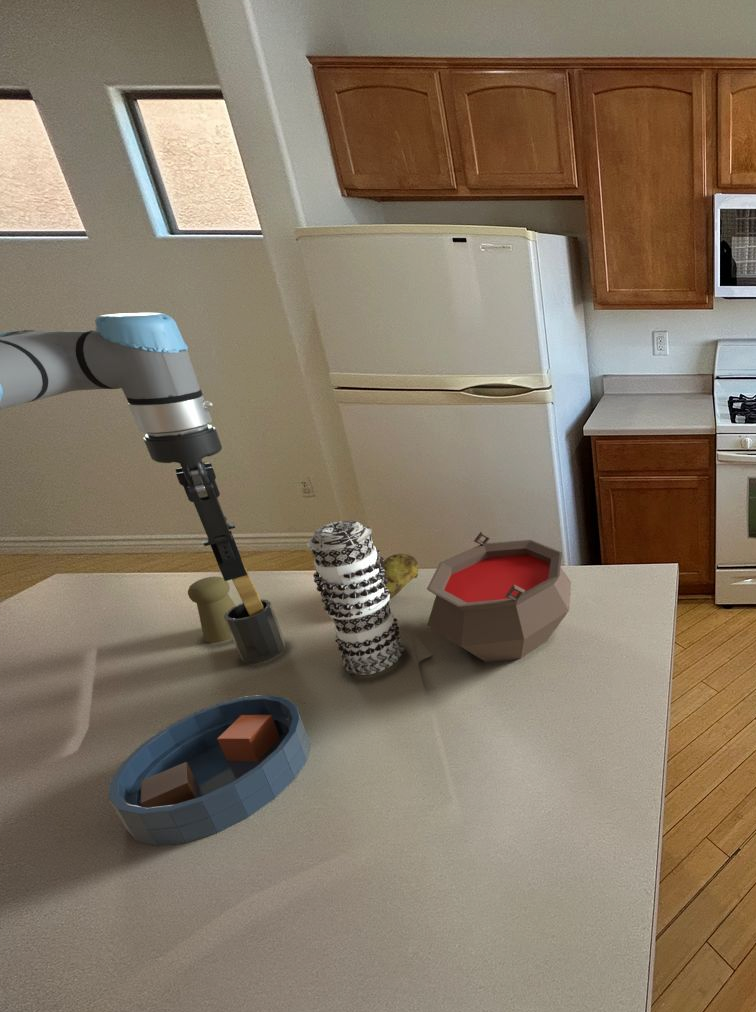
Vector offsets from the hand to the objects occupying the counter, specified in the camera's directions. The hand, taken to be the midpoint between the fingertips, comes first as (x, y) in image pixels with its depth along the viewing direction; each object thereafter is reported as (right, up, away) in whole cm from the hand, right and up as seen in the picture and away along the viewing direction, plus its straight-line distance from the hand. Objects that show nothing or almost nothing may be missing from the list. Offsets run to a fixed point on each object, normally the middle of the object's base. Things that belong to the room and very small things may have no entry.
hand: (234, 573), depth 86 cm
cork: (-11, -13, +11) cm, 20 cm away
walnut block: (+11, -25, -20) cm, 34 cm away
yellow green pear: (+11, -8, +22) cm, 26 cm away
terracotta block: (+14, -22, -12) cm, 28 cm away
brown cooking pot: (+39, -13, +12) cm, 42 cm away
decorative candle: (+19, -16, +5) cm, 25 cm away
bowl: (+13, -24, -16) cm, 32 cm away
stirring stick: (+1, -9, +5) cm, 11 cm away
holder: (0, -15, +6) cm, 16 cm away
